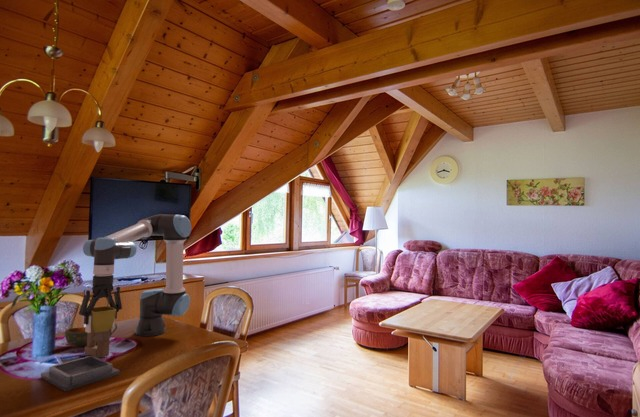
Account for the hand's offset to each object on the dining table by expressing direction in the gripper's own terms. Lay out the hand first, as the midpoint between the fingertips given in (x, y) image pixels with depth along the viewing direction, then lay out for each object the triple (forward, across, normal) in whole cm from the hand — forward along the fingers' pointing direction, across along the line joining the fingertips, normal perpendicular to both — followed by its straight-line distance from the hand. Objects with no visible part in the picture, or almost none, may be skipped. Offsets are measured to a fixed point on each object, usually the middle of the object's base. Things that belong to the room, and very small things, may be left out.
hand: (100, 329), depth 160 cm
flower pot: (+1, 0, 0) cm, 1 cm away
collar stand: (+16, -7, -1) cm, 18 cm away
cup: (+16, +13, +33) cm, 39 cm away
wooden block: (+16, +8, +17) cm, 25 cm away
